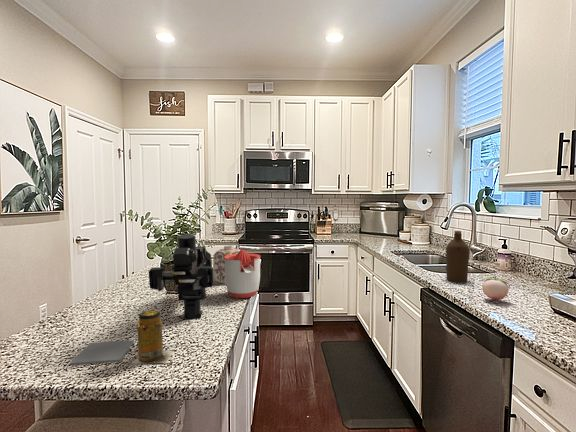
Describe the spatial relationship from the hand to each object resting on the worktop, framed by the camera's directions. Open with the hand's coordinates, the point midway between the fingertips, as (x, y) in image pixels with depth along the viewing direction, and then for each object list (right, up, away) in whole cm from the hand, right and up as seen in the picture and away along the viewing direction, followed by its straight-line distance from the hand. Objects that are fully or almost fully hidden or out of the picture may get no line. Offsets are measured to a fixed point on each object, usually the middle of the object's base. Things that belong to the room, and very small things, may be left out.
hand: (176, 288), depth 95 cm
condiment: (-4, -17, -6) cm, 18 cm away
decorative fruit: (+115, -14, +42) cm, 123 cm away
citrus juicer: (+12, -14, +51) cm, 54 cm away
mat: (-19, -17, -3) cm, 25 cm away
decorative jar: (+2, -13, +76) cm, 77 cm away
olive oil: (+117, -12, +76) cm, 140 cm away
